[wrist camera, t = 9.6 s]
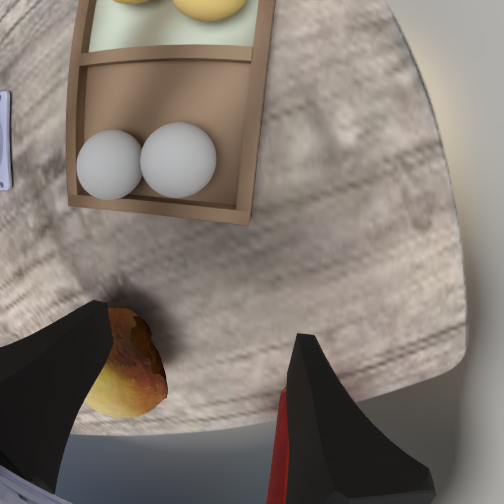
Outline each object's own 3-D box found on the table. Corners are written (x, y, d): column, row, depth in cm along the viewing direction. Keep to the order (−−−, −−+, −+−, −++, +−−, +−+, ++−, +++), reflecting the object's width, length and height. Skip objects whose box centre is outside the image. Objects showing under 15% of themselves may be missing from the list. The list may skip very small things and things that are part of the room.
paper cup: (304, 430, 28) (304, 558, 16) (249, 395, 27) (230, 543, 14) (371, 395, 26) (397, 535, 13) (321, 353, 24) (337, 525, 11)
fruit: (124, 268, 22) (68, 336, 15) (206, 341, 24) (182, 424, 17) (81, 318, 25) (33, 380, 17) (152, 378, 27) (123, 448, 20)
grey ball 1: (83, 187, 18) (71, 211, 15) (84, 125, 16) (69, 137, 13) (143, 187, 20) (142, 211, 16) (147, 125, 18) (146, 136, 15)
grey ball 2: (171, 193, 19) (123, 198, 16) (174, 128, 18) (126, 121, 15) (228, 197, 18) (184, 203, 14) (232, 125, 17) (188, 114, 13)
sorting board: (80, 199, 20) (66, 207, 19) (99, -33, 13) (87, -40, 11) (251, 217, 20) (248, 226, 18) (281, -46, 13) (281, -58, 11)
